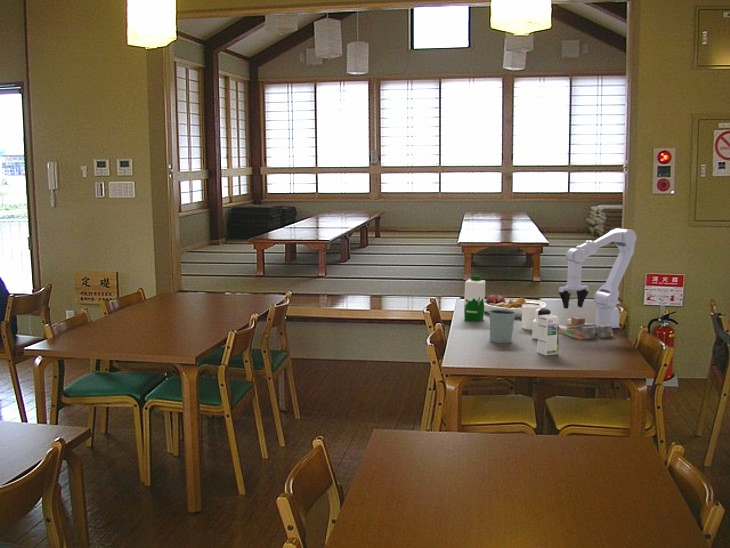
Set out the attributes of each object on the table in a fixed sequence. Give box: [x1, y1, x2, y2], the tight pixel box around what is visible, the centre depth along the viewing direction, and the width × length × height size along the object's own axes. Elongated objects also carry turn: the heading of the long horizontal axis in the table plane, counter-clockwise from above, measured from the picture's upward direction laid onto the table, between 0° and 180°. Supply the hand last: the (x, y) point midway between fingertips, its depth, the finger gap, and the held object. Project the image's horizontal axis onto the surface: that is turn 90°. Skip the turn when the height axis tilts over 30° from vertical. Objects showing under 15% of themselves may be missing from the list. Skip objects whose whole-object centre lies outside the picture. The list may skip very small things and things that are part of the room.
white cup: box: [521, 304, 540, 331], centre depth 350 cm, size 8×8×10 cm
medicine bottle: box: [531, 308, 551, 340], centre depth 331 cm, size 7×7×12 cm
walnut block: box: [570, 316, 586, 330], centre depth 345 cm, size 4×4×6 cm
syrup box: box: [536, 313, 560, 356], centre depth 303 cm, size 6×6×14 cm
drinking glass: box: [488, 310, 515, 344], centre depth 324 cm, size 10×10×12 cm
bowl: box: [484, 294, 547, 319], centre depth 387 cm, size 30×30×8 cm
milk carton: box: [463, 274, 486, 323], centre depth 367 cm, size 9×9×20 cm
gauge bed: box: [559, 318, 614, 340], centre depth 345 cm, size 17×28×5 cm, turn 24°
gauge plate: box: [566, 322, 598, 335], centre depth 336 cm, size 15×7×4 cm, turn 114°
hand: (572, 307), depth 349 cm, fingers open, 7 cm apart
